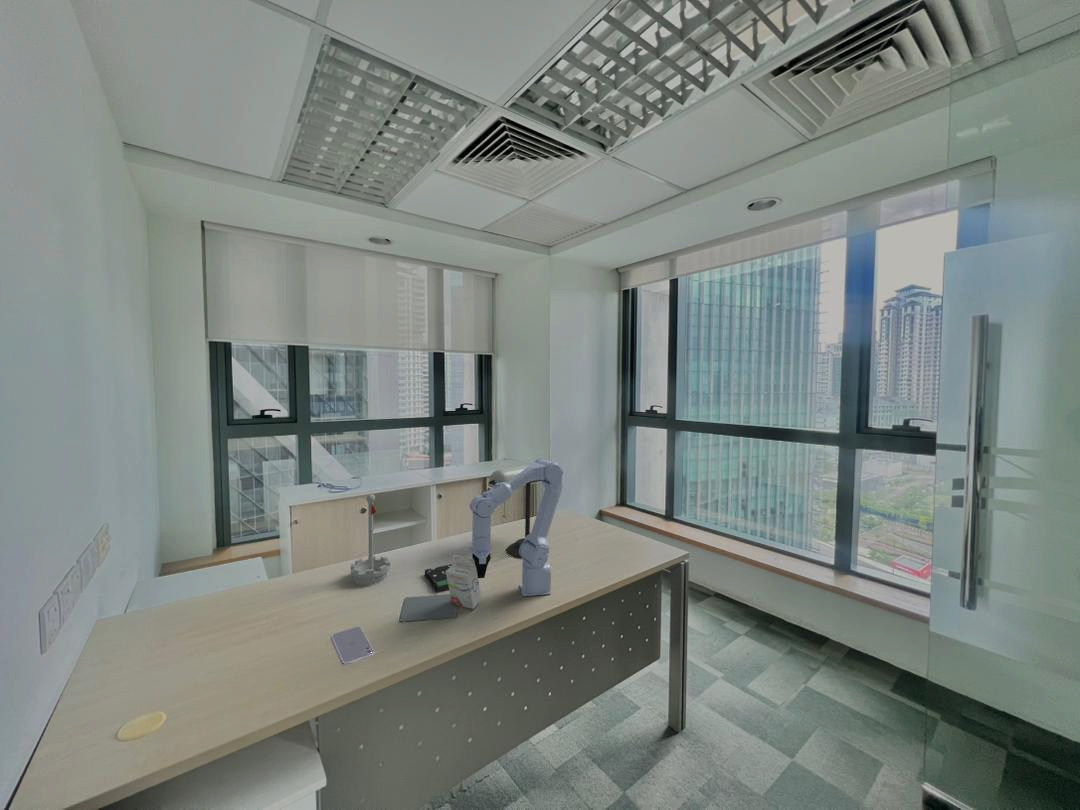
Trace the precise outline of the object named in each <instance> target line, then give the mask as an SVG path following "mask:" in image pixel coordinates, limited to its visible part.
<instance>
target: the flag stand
mask: <svg viewBox="0 0 1080 810" xmlns="http://www.w3.org/2000/svg"><path fill="white" fill-rule="evenodd" d="M365 501H367V503H368V507H367V508H368V558H367V559H364V560H363V558H358V559H357V560H354V563H351V564H350V574H351V576H353V582H354V581H355V582H356V583H357V584H356V583H355V582H354V583H355V584H356V585H359V584H361V585H360V586H371V585H370V584H372V585H376V584H375V583H377V584H379V582H380V583H382V582H383V580H384V579H385V578H386V577H388V572H389V571H390V570H391V559H388V556H383V555H382V556H380V558H377V556H376V555H374V515H375V514H376V513H377V511H376V508H375V507H374V502H375V501H376V496H375V494H373V493H369V494H367V496H366V500H365ZM386 579H387V578H386ZM386 579H385V580H386ZM385 580H384V581H385ZM381 581H382V582H381Z"/></svg>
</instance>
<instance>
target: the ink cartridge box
mask: <svg viewBox="0 0 1080 810" xmlns="http://www.w3.org/2000/svg"><path fill="white" fill-rule="evenodd" d="M452 557H453V562H454V563H452V566H451V567H450V568H449V569H448V570H447V571H446V575H447V581H448V586H449V590H448V592H449V594H450V597H451V602H452V604H456V606H461V607H464V608H468V609H472V610H474V609H475V608H476V607H477V606H478V604H479V603H480V602H481V600H482V594H481V587H480V583H479V578H478V575H477V569H476V566H475V562H474V559H473V558H472V557H467V556H463V555H462V556H461V555H456V554H453V555H452Z"/></svg>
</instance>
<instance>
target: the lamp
mask: <svg viewBox="0 0 1080 810" xmlns="http://www.w3.org/2000/svg"><path fill="white" fill-rule="evenodd" d="M529 465H530V464H526V465H520V466H513V467H506V468H500V469H496V470H494V471H493V472H492V473H491V475H490V477H489V480H488V484H487V486H488V487H489V488H491V489H492V488H493V487H495V484H496V483H501V482H504V483H507V482H509V481H510V480H511V479H513V478H514V477H515V476H517V475H518V474H519V473H521V472H522V471H523V470H525V469H526V468H527V467H528V466H529ZM541 482H542V481H541V480H531V481H530V482H528V483H526V484H524V485H523V486H522V487H524V486H525V513H524V514H525V515H524V516H525V517H524V518H525V519H524V520H525V521H524V522H525V523H524V527H525V528H524V531H525V532H524V538H519V539H517V540H516V541H514V542H513V543H510V544H509V546H506V548H507V549H506V548H505V552H506V551H507V553H508V554H509V555H508V554H507V553H506V554H507V555H508V556H510V555H511V556H510V557H512V556H513V557H512V558H514V557H517V558H516V559H519V558H522V557H521V556H520V554H519V548H520V546H521V544H522V543H523V542H524V540H525V538H526V536H527V535H529V534H530V533H531V531H530V530H531V485H535V484H539V483H541ZM505 503H506V501H505V502H503V515H502V518H506V509H505V508H506V507H505V506H506V504H505ZM548 551H549V549H548Z"/></svg>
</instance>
